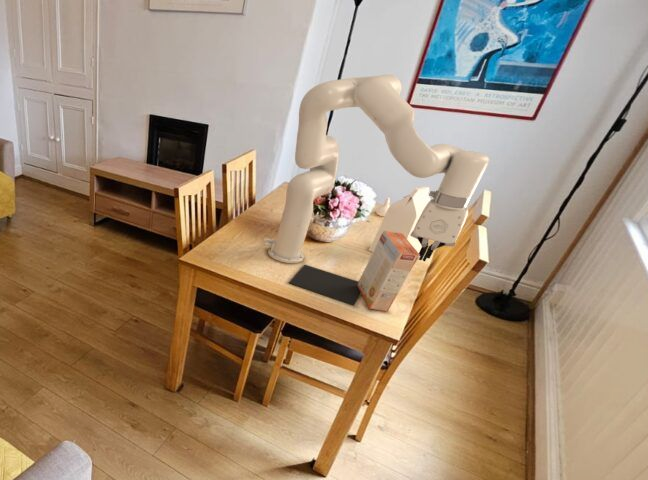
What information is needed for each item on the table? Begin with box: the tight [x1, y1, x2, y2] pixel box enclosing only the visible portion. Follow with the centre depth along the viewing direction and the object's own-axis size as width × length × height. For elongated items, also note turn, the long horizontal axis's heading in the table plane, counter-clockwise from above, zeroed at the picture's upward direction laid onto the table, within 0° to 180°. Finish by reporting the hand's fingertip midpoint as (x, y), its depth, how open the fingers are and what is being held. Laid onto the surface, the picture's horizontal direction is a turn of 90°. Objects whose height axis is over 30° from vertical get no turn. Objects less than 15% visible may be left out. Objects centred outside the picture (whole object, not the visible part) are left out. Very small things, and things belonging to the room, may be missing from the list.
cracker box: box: [357, 231, 420, 312], centre depth 139 cm, size 14×6×21 cm, turn 168°
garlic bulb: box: [375, 196, 391, 218], centre depth 198 cm, size 6×6×8 cm
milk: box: [368, 185, 432, 253], centre depth 163 cm, size 12×12×26 cm
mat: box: [288, 264, 362, 307], centre depth 152 cm, size 20×16×1 cm
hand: (422, 258), depth 131 cm, fingers closed
